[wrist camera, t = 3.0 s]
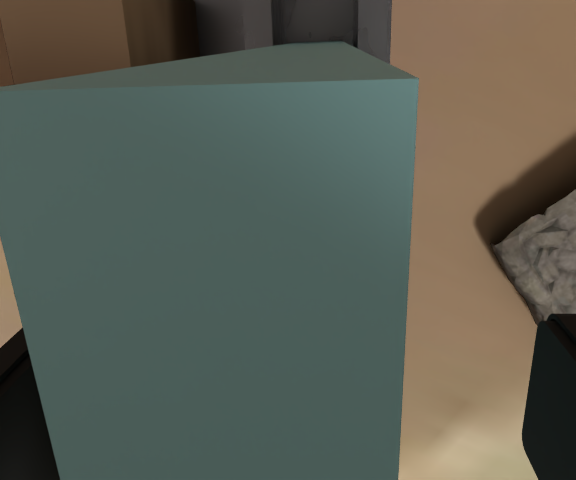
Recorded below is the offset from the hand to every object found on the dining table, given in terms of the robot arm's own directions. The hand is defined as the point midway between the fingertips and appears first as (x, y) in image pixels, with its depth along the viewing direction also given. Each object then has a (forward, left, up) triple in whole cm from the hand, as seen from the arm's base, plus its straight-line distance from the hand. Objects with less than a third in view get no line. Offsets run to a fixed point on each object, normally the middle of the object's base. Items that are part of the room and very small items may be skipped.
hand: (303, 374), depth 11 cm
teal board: (0, 0, -11) cm, 11 cm away
